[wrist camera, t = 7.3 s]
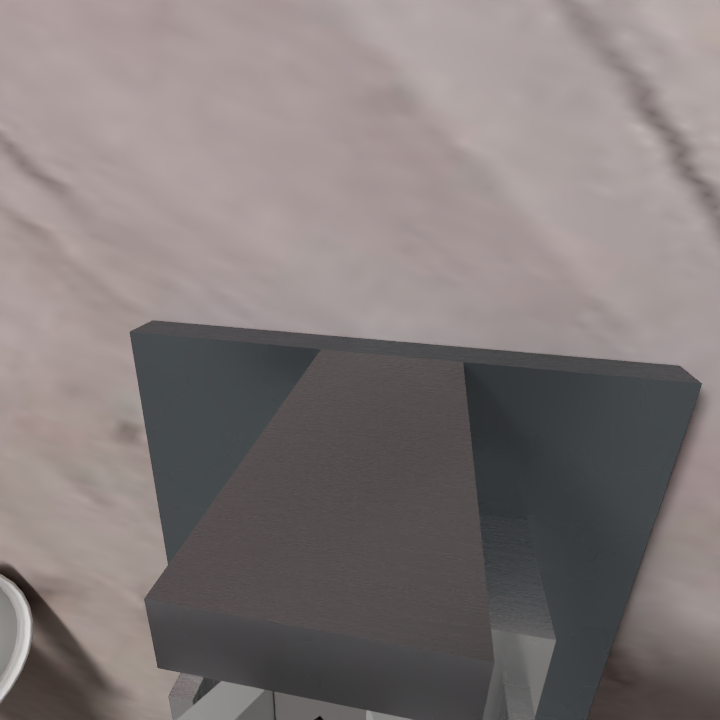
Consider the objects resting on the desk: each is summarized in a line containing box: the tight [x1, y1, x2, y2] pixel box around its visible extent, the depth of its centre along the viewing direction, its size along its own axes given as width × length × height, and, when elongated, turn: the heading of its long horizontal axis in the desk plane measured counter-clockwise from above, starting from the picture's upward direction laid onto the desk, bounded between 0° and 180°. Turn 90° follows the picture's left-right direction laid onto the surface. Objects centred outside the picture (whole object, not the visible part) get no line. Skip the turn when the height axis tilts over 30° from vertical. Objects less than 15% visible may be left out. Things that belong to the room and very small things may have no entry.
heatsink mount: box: [130, 321, 702, 720], centre depth 13 cm, size 16×17×10 cm
